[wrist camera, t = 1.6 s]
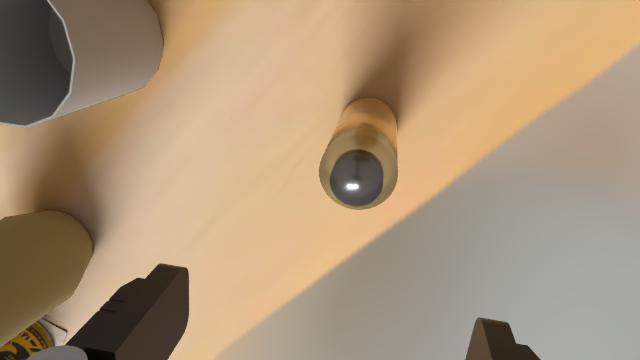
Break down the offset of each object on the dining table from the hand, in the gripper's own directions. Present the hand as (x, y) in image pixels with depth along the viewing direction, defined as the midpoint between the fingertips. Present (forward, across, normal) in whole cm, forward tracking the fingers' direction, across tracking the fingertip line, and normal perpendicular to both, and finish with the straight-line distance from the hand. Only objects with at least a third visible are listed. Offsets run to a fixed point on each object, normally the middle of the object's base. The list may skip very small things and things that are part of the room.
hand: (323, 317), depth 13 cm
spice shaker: (+22, 0, 0) cm, 22 cm away
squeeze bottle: (+22, +25, +14) cm, 36 cm away
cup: (+22, +19, -4) cm, 30 cm away
